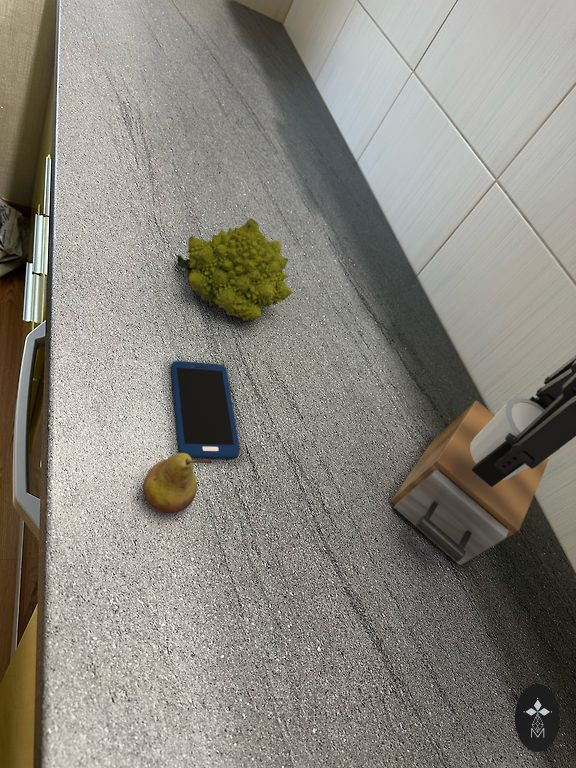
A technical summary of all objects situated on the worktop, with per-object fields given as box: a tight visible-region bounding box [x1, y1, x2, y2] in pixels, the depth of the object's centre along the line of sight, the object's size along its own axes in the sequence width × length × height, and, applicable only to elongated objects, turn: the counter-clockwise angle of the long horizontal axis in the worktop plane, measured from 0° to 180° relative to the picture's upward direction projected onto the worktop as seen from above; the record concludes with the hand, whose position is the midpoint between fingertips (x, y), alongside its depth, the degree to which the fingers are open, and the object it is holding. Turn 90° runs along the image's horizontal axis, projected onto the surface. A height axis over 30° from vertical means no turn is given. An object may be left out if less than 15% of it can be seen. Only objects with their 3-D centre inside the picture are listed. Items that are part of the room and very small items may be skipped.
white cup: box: [470, 396, 561, 480], centre depth 61 cm, size 7×7×7 cm
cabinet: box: [390, 400, 550, 565], centre depth 74 cm, size 14×12×11 cm
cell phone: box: [170, 360, 241, 459], centre depth 71 cm, size 7×14×1 cm, turn 11°
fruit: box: [142, 452, 213, 515], centre depth 58 cm, size 6×6×12 cm
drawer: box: [393, 469, 509, 566], centre depth 71 cm, size 17×11×9 cm, turn 143°
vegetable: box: [176, 217, 293, 322], centre depth 82 cm, size 15×16×15 cm
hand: (493, 456), depth 63 cm, fingers closed on white cup, 7 cm apart
